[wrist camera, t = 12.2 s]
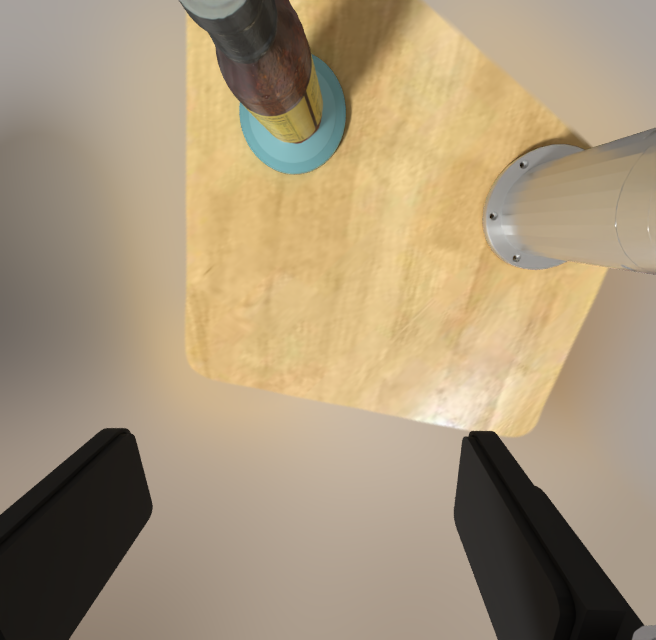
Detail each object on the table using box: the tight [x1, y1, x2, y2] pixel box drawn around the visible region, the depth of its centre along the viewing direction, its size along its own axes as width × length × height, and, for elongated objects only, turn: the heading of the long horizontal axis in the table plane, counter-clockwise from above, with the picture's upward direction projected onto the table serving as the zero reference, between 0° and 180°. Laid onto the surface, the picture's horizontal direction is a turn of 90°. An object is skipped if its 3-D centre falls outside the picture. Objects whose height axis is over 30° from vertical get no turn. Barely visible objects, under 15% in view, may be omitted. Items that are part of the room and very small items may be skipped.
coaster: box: [240, 54, 346, 175], centre depth 31 cm, size 11×11×1 cm
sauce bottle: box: [179, 0, 323, 144], centre depth 22 cm, size 6×6×20 cm
